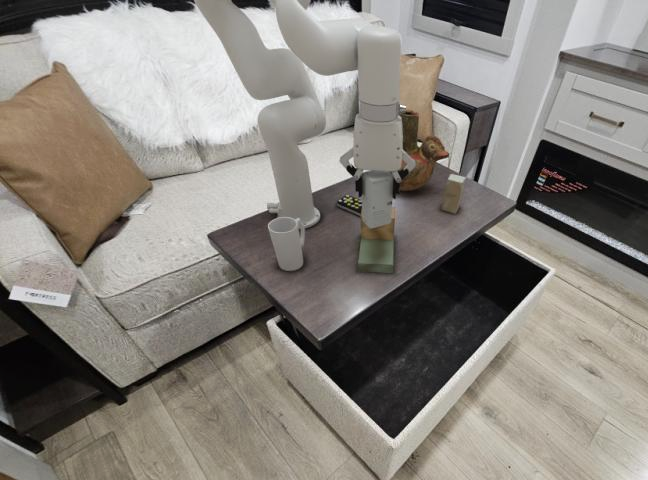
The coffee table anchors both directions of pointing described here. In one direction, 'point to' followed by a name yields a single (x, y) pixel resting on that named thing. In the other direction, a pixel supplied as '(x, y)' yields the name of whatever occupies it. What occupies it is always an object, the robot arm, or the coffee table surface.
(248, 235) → the coffee table surface
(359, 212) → the remote control
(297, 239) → the mug
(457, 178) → the box
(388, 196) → the white medicine box
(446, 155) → the ceramic vessel
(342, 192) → the coffee table surface
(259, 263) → the coffee table surface
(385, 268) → the wood and green block
